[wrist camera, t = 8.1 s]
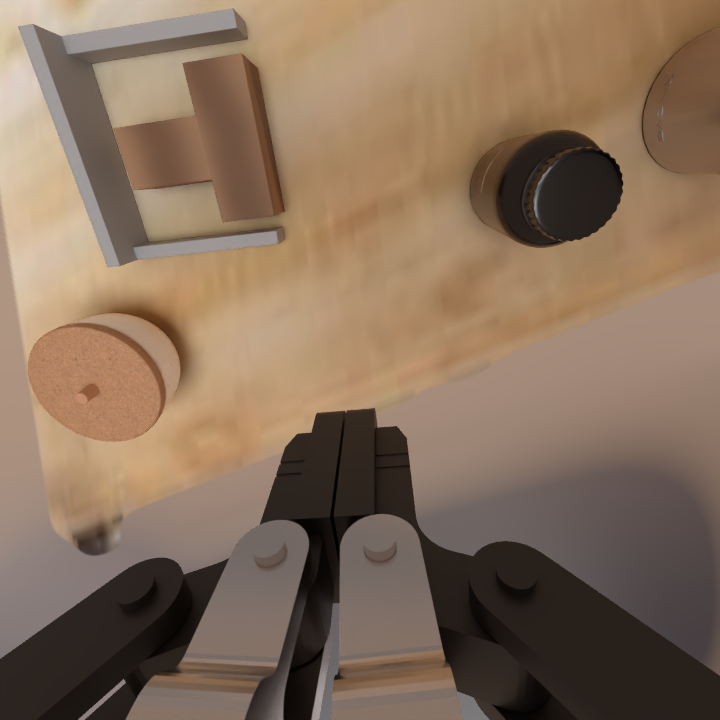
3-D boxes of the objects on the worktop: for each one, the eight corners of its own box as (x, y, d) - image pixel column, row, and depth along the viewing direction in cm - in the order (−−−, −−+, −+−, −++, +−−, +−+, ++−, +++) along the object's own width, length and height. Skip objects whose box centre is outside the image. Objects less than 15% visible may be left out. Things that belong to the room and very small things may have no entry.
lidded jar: (183, 295, 37) (127, 331, 29) (208, 396, 42) (165, 453, 33) (72, 300, 38) (-15, 337, 29) (108, 399, 42) (41, 456, 34)
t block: (257, 68, 30) (241, 53, 26) (284, 211, 34) (274, 215, 30) (129, 88, 31) (96, 77, 27) (171, 225, 35) (147, 232, 31)
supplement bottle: (462, 152, 32) (508, 140, 21) (552, 127, 31) (650, 103, 20) (473, 240, 34) (518, 271, 23) (556, 220, 33) (643, 243, 23)
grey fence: (244, 21, 29) (219, -7, 24) (284, 239, 35) (271, 249, 30) (72, 48, 30) (18, 26, 25) (141, 255, 36) (107, 267, 31)
